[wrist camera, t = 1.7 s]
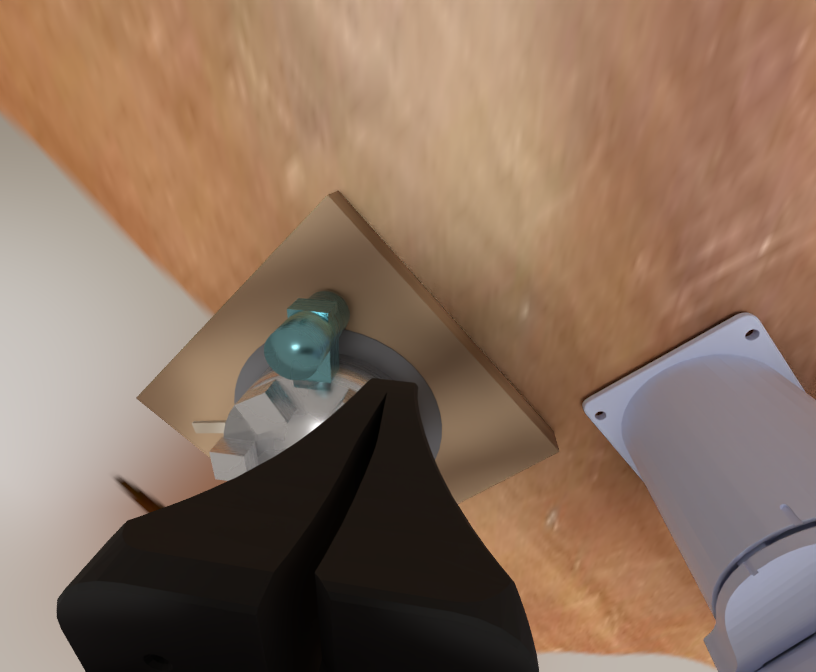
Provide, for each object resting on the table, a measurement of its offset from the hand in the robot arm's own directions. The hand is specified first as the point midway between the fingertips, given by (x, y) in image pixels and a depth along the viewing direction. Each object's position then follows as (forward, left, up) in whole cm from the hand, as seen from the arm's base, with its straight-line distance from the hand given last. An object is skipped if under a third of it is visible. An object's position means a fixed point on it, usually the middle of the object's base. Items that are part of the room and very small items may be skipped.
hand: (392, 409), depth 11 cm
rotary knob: (-1, +6, -6) cm, 9 cm away
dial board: (-2, +7, -8) cm, 11 cm away
